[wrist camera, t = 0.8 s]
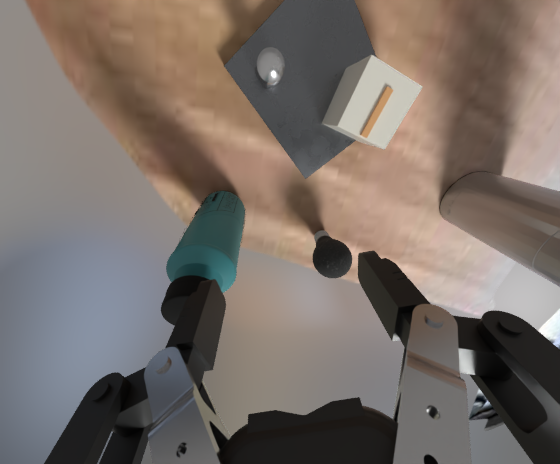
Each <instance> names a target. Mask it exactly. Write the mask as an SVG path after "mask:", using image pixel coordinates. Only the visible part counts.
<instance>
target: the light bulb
mask: <svg viewBox="0 0 560 464" xmlns="http://www.w3.org/2000/svg"><path fill="white" fill-rule="evenodd" d="M314 239H315V241H316V248H315V250H314V253H313V263H314V266H315V268H316V269H317V271H318V272H319V273H320V274H322V275H323V276H325V277H328V278H338V277H341V276H343V275H345V274H346V273H347V272H348V271H349V269H350V267H351V264H352V255H351V252H350V250H349V248H348V247H347V246H346V245H345V244H344V243H342V242H340V241H338V240H335V239H332V238H331V237H330V236H329V235H328V233H327V232H326V231H324V230H321V231H318V232H317V233H316V234H315V236H314Z"/></svg>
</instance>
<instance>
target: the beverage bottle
mask: <svg viewBox="0 0 560 464" xmlns="http://www.w3.org/2000/svg"><path fill="white" fill-rule="evenodd" d="M208 195H209V194H208ZM202 202H203V201H202ZM201 204H202V205H201V207H200V206H199V207H200V208H199V209H198V211H196V213H195V217H194V218H193V217H192V218H193V220H192V221H191V222H190V223H189V224H190V225H189V227H188V228H187V230H186V232H185V233H184V235H183V237H182V239H181V241H180V242H179V244H178V246H177V247H176V249H175V251H174V252H173V253H172V254H171V256H170V257H169V260H168V262H167V267H166V270H167V274H168V277H169V279H170V281H171V282H172V283H171V284H170V285H169V287H168V289H167V292H166V296H165V298H164V301H163V303H162V307H161V313H162V315H163V317H164V318H165V320H167V321H168V322H169V323H171V324H173V325H176V322H177V320H178V318H179V315H180V313H181V311H182V308H183V306H184V304H185V301H186V300H187V299H188V297H189V296H190V295H191V294H192V293H193V292H196V291H197V289H198V286H199V284H200V282H201V281H206V280H212V279H215V280H216V281H217V282H218V285H219V287H220V289H221V291H222V293H223V292H225V291H226V290H228V289H229V288H230V287H231V286H232V284H233V283H234V281H235V278H236V268H237V262H238V255H239V248H240V242H241V238H242V236H243V235H242V231H243V228H244V227H243V224H244V221H245V220H244V216H246V214H245V208H244V205H243V203H242V201H241V200H240V199H239V198H238V197H237V196H236V195H235V194H233V193H230V192H227V191H217V192H214V193H211V194H210V195H209V196H208V197H206V198H205V200H204V202H203V203H201Z"/></svg>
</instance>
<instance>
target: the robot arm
mask: <svg viewBox="0 0 560 464" xmlns="http://www.w3.org/2000/svg"><path fill="white" fill-rule="evenodd" d="M440 213H441V215H442V217H443V218H444V219H445V220H446V221H448V222H450V223H451V224H453V225H455V226H457V227H458V228H460V229H462V230H463V231H465V232H467V233H468V234H470V235H472V236H473V237H475V238H477V239H479V240H480V241H482V242H484V243H485V244H487V245H489V246H490V247H492V248H494V249H496V250H497V251H499V252H501V253H502V254H504V255H506V256H508V257H509V258H511V259H513V260H514V261H516V262H518V263H519V264H521V265H523V266H525V267H526V268H528V269H530V270H531V271H533V272H535V273H537V274H538V275H540V276H542V277H544V278H545V279H547V280H549V281H551V282H552V283H554V284H556V285H558V286H559V287H560V191H556V190H552V189H549V188H545V187H541V186H537V185H534V184H530V183H526V182H522V181H519V180H515V179H511V178H508V177H504V176H500V175H496V174H492V173H488V172H474V173H471V174H469V175H466V176H464V177H463V178H461V179H459V180H458V181H457V182H456V183H454V184H453V185H452V186H451V187H450V188H449V190H448V191H447V192H446V194H445V195H444V197H443V199H442V202H441V205H440ZM358 278H359V282H360V284H361V286H362V288H363V290H364V291H365V293H366V295H367V297H368V298H369V300H370V302H371V304H372V306H373V308H374V309H375V311H376V313H377V314H378V317H379V318H380V320H381V322H382V324H383V326H384V327H385V329H386V331H387V333H388V334H389V336H390V338H391V340H392V341H398V340H401V342H402V343H403V345H404V352H403V358H402V364H401V371H400V378H399V384H398V391H397V396H396V401H395V406H394V413H393V418H392V419H391V418H390V417H388V416H387V415H385V414H383V413H382V412H380V411H377V410H375V409H373V408H369V407H366V406H362V404H361V401H360V398H359V397H358V398H351V399H345V400H339V401H332V402H330V403H328V404H326V405H324V406H322V407H320V408H318V409H316V410H315V411H313V412H311V413H309V414H307V415H297V414H293V413H287V412H282V411H277V410H274V411H267V412H260V413H254V414H249V415H248V424H246V425H245V426H243V427H242V428H240V429H239V430H238V431H237V432H236V433H235V434H234V435H232V436H230V434H229V432H228V430H227V428H226V427H225V425H224V423H223V422H222V420H221V418H220V416H219V414H218V412H217V410H216V408H215V405H214V403H213V401H212V399H211V397H210V395H209V393H208V390H207V388H206V386H205V384H204V382H203V380H202V378H203V374H204V371H209V370H213V366H214V362H215V357H216V351H217V347H218V342H219V337H220V333H221V328H222V323H223V318H224V313H225V308H226V303H225V298H224V295H223V293H222V291H221V289H220V287H219V285H218V282H217V281H216V280H215V279H212V280H206V281H201V282H200V284H199V286H198V289H197V291H196V292H193V293H192V294H191V295H190V296H189V297H188V299H187V300H186V301H185V304H184V306H183V308H182V311H181V313H180V315H179V318H178V320H177V322H176V325H175V327H174V329H173V332H172V335H171V336H170V339H169V341H168V343H167V346H166V348H165V349H163V350H161V351H160V352H158V353H157V354H156V355H155V356H154V357H153V358H152V359H151V360H150V361H149V363H148V365H147V366H146V367H145V368H143V369H141V370H139V371H137V372H135V373H133V374H131V375H129V376H127V377H124V376H122V375H121V374H120V373H111V374H108V375H106V376H105V377H103V378H102V379H100V380H99V381H98V382H96V383H95V384H94V385H93V386H92V387H91V388H90V390H89V391H88V392H87V393H86V395H85V396H84V398H83V400H82V401H81V403H80V405H79V407H78V408H77V410H76V411H75V413H74V415H73V416H72V418H71V420H70V422H69V423H68V425H67V427H66V428H65V430H64V432H63V433H62V435H61V437H60V438H59V440H58V441H57V443H56V445H55V446H54V448H53V450H52V452H51V453H50V455H49V456H48V458H47V460H46V461H45V463H44V464H97V462H98V460H99V458H100V456H101V453H102V451H103V449H104V447H105V445H106V442H107V440H108V438H109V435H110V433H111V431H113V433H112V436H111V438H110V440H109V443H108V445H107V447H106V449H105V452H104V454H103V456H102V458H101V461H100V463H99V464H141V461H142V458H143V455H144V452H145V449H146V446H147V442H148V440H149V446H150V451H151V457H152V463H153V464H471V449H470V434H469V418H468V404H467V389H466V384H465V381H464V380H463V379H461V377H460V373H465V374H469V375H470V376H471V377H472V379H473V380H474V382H475V383H476V384H477V386H478V387H479V388H480V390H481V391H482V393H483V394H484V395H485V397H486V398H487V400H488V401H489V402H490V404H491V405H492V407H493V408H494V409H495V411H496V412H497V413H498V415H499V416H500V418H501V419H502V420H503V422H504V423H505V425H506V426H507V427H508V429H509V430H510V431H511V433H512V434H513V436H514V437H515V438H516V440H517V441H518V443H519V444H520V445H521V447H522V448H523V449H524V451H525V452H526V454H527V455H528V456H529V458H530V459H531V461H532V462H533V463H534V464H560V350H559V349H558V348H557V347H556V346H555V345H554V344H552V343H551V342H550V341H549V340H548V339H547V338H545V337H544V336H543V335H542V334H541V333H539V332H538V331H537V330H536V329H535V328H534V327H532V326H531V325H530V324H528V323H527V322H526V321H524V320H523V319H521V318H519V317H517V316H515V315H512V314H510V313H506V312H502V311H488V312H486V313H484V314H483V316H482V318H481V319H475V318H467V317H458V316H453V315H451V314H450V313H449V312H447V311H446V310H444V309H443V308H441V307H438V306H436V305H432V304H430V303H429V302H428V301H427V299H426V298H425V297H424V296H423V295H422V294H421V292H420V291H419V290H418V289H417V288H416V287H415V286H414V284H413V283H412V282H411V281H410V280H409V279H408V278H407V276H406V275H405V274H404V273H402V271H401V269H400V268H399V267H398V266H397V265H396V264H395V263H394V262H392V261H390V260H389V259H387V258H384V259H381V258H380V257H379V256H378V255H377V253H376V252H375V251H368V252H363V253H359V255H358Z"/></svg>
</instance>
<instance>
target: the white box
mask: <svg viewBox="0 0 560 464" xmlns="http://www.w3.org/2000/svg"><path fill="white" fill-rule="evenodd" d="M421 89H422V86H421V85H419V84H418V83H416V82H414V81H413V80H411V79H410V78H408V77H406V76H405V75H403V74H402V73H400V72H399V71H397V70H395V69H394V68H392V67H391V66H389V65H388V64H386V63H384V62H383V61H381V60H380V59H378V58H376V57H375V56H373V55H370V56H368V57H366V58H364V59H362V60H360V61H359V62H357V63H355V64H353V65H351V66H349V67H347V68H346V69H345V72H344V74H343V76H342V79H341V81H340V83H339V85H338V88H337V90H336V92H335V94H334V97H333V99H332V101H331V103H330V106H329V108H328V110H327V112H326V115H325V117H324V119H323V121H322V124H324V125H326V126H328V127H330V128H332V129H334V130H336V131H338V132H340V133H342V134H344V135H346V136H349V137H351V138H353V139H355V140H357V141H359V142H361V143H364V144H368V145H371V146H374V147H378V148H381V149H384V150H385V148H386V146H387V145H388V143H389V141H390V140H391V138H392V136H393V135H394V133H395V131H396V130H397V128H398V127H399V125H400V123H401V122H402V120H403V118H404V117H405V115H406V113H407V112H408V110H409V109H410V107H411V105H412V104H413V102H414V100H415V99H416V97H417V95H418V94H419V92H420V90H421Z"/></svg>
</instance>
